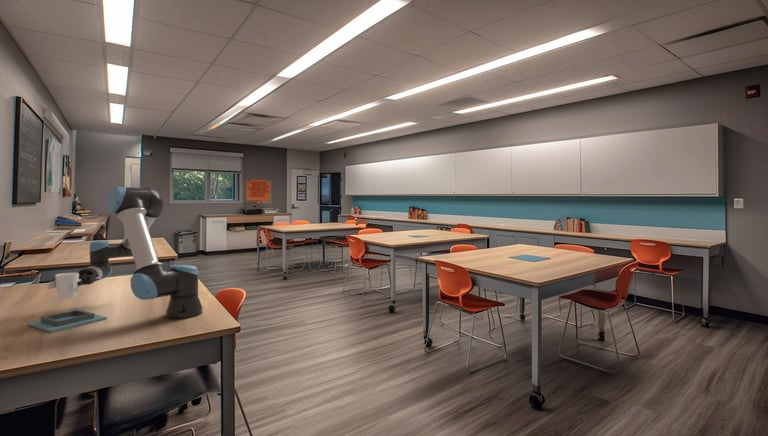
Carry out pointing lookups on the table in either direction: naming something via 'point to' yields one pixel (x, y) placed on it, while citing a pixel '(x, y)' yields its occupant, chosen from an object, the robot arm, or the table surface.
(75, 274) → the white cup
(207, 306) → the table surface
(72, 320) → the glass holder
